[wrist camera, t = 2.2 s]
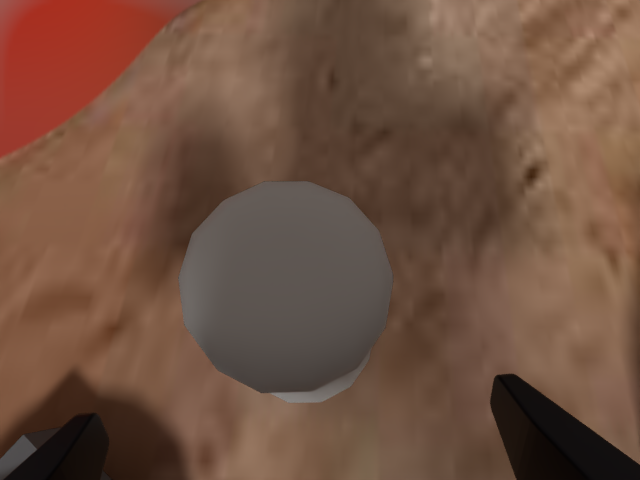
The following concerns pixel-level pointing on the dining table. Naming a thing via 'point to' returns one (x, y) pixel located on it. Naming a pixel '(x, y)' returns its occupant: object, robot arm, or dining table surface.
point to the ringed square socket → (27, 451)
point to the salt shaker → (287, 289)
